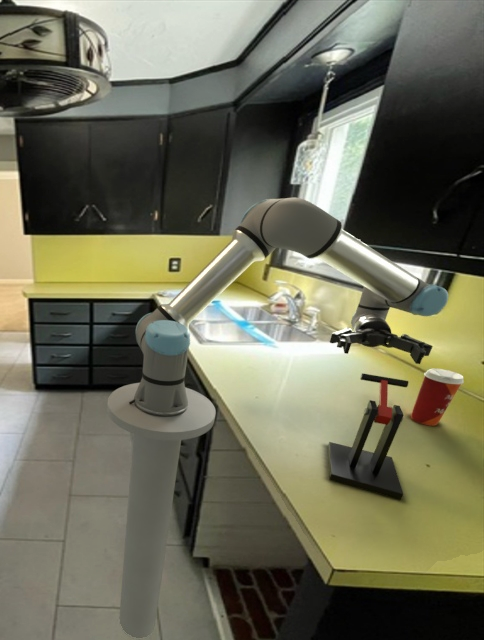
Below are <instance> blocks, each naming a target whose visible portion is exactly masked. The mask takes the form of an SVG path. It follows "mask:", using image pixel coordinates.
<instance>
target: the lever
mask: <svg viewBox="0 0 484 640" xmlns="http://www.w3.org/2000/svg"><path fill="white" fill-rule="evenodd" d="M360 380H361V381H366V382H370V383H377V384H379V394H378V395H379V396H378V397H379V400H378V405H377V408H378V412H377V414H376V417H375V419H374V422H373V423H375V424H381V425H384V426H385V425H388V423H389V422H390V420H391V419H392V408H393V406H392V407H391V406H388V395H389V394H388V393H389V392H388V390H389V389H388V386H396V387H401V388H408V386H409V382H410V381H409V380H405V379H399V378H394V377H393V378H392V377H387V376H381V375H375V374H368V373H361V374H360Z"/></svg>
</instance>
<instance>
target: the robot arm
mask: <svg viewBox="0 0 484 640" xmlns="http://www.w3.org/2000/svg"><path fill="white" fill-rule="evenodd" d="M231 238H232V239H231V241H229V243H227V245H226V246H224V248H223V249H222V250H221V251H220V252H218V253H217V255H216V256H214V258H212V259H211V261H210V262H208V263H207V265H205V267H204V268H203V269H202V270H201V271H200V272H198V274H197V275H195V277H194V278H192V280H191V281H190V282H189V283H187V284H186V286H185V287H184V288H183V289H181V291H180V292H178V293H177V294H176V296H175V297H173V299H172V300H171V301H170V302H169V303H161V304H159V306H158V307H157V308H156V309H154V311H152V312H149V313H146V314H145V315H143V316H142V317H140V319H139V320H138V322H137V324H136V326H135V340H136V343H137V345H138V347H139V348H140V350H141V352H142V354H143V363H142V374H141V379H140V382H139V383H140V384H139V386H138V389H137V391H136V393H135V396H134V400H132V401H130V402H129V404H132V403H134V405H135V406H136V407H137V408H138V409H139V410H140V411H142V412H144V413H147V414H150V415H154V416H160V417H172V416H177V415H180V414H182V413H184V412H185V411H186V410H187V406H188V398H187V394H186V389H185V387H186V385H185V379H186V370H187V364H188V357H189V350H190V349H189V348H190V345H191V332H190V324H191V323H192V322H193V321H194V320H195V319H196V318H197V317H198V316H199V315H200V314H201V313H202V312H203V311H204V310H205V309H206V308H207V307H208V306H210V305H211V303H213V302H214V301H215V300H216V299H217V298H218V297H219V296H220V295H221V294H222V293H223V292H224V291H225V290H226V289H227V288H228V287H229V286H231V284H233V283H234V282H235V280H237V279H238V277H240V276H241V275H242V274H243V273H244V272H245V271H246V270H247V269H248V268H249V267H250V266H251V265H252V264H253V263H254V262H262V261H264V260H265V259H266V258H267V257H269V256H270V255H271V254H272V253H273V252H274V251H275V250H276V249H282V250H287V251H290V252H294V253H298V254H300V255H302V256H304V257H306V258H307V259H311V260H312V259H313V260H314V259H318V260H319V261H322V262H323V263H325V264H326V265H328V266H330V267H331V268H333V269H334V270H336V271H337V272H339V273H341V274H344V276H346V277H348V278H349V279H351V280H353V281H354V282H357V283H358V284H359V285H361V286H363V288H362V292H361V295H360V299H359V302H358V305H357V307H356V310H355V313H354V314H353V315H352V317H351V321H350V324H351V328H350V327H349V326H347V327H344V329H341V330H338V331H334V332H332V333H331V335H330V338H329V343H330V344H336V343H337V345H336V347H337V348H340V349H343V353H344V354H347V355H348V354H349V353H350V350H351V346H352V344H359V345H361V346H363V347H366V348H377V347H380V346H382V347H384V348H388V349H389V348H391V349H392V348H394V349H396V350H399V351H402V352H405V353H408V354H409V356H410V357H411V359H412V360H413V362H414V363H415V364H416V365H421V363H422V361H423V358H425V357H430V354H431V351H432V349H433V347H434V346H433V345H431V344H429V343H427V342H425V341H422V340H419V339H416V338H414V337H411V336H410V335H409V334H406V333H403V334H402V335H400V336H399V335H397V334H395V333H393V332H392V329H391V326H390V325H389V324H388V322H387V321H386V320H387V316H388V314H389V312H390V311H389V310H390V308H391V309H395V310H400V311H403V312H406V313H409V314H412V315H413V316H419V317H420V316H421V317H431V316H434V315H436V314H438V313H439V312H441V311H442V309H444V307H445V306H446V305H447V303H448V301H449V293H448V291H447V290H446V289H445V288H444V287H442V286H438V285H437V284H429V283H427V282H425V281H424V280H422V279H421V278H419V277H417V276H415V275H414V274H412V273H411V272H410V271H409V270H406V269H405V268H403V267H402V266H400V265H398V264H397V263H395V262H394V261H393V260H391V259H389V258H388V257H386V256H384V255H383V254H381V253H380V252H378V251H377V250H375V249H373V248H372V247H371V246H369V245H368V244H366V243H364V242H363V241H361V239H358V238H356V237H355V236H354V235H352V234H351V233H349V232H347V231H346V230H344V229H343V223H342V221H341V220H339V219H337V218H336V217H335V216H333V215H332V214H330V213H328V212H327V211H326V210H324V209H322V208H321V207H319V206H317V205H315V204H314V203H312V202H310V201H308V200H306V199H304V198H300V197H287V198H267V199H264V200H261V201H259V202H255V204H253V205H251V206H250V207H249V208H248V209H246V211H245V213H244V214H243V216H242V218H241V219H240V224H239V225H238V226H237V227H236V228H235V229H234V230H233V231H232V237H231Z"/></svg>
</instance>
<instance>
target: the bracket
mask: <svg viewBox="0 0 484 640" xmlns="http://www.w3.org/2000/svg"><path fill="white" fill-rule="evenodd" d="M377 407H378V405H377V401H376V400H371V399H370V400H369V401H368V404H367V405H366V408H364V411H363V416H362V419H361V422H360V424H359V427H358V430H357V433H356V435H355V436H354V437H355V438H354V440H353V443H352V445H351V446H348V445H345V444H340V443H336V442H332V441H328V444H327V463H328V464H327V465H328V478H329V480H330V481H334V482H336V483H340V484H344V485H348V486H351V487H354V488H356V489H357V488H358V489H362V490H364V491H368V492H372V493H375V494H379V495H382V496H385V497H389V498H391V499H396V500H400V501H402V499H403V496H404V495H405V494H404V491H403V488H402V485H401V482H400V479H399V475H398V472H397V469H396V466H395V462H394V460H393V457H392V456H389V455H388V453H389V451H390V448H391V446H392V443H393V441H394V439H395V437H396V435H397V432H398V429H399V428H400V425H401V423H402V422H403V420H404V416H405V414H404V412H403V410H402V407H401V406H400V405H397V404H393V405H392V419H391V420H390V422H389V423H388V425H385V424H384V427H383V429H382V432H381V435H380V438H379V439H378V442H377V444H376V447H375V449H374V451H373V452H372V451H368V450H365V449H364V447H365V444H366V442H367V441H368V440H367V439H368V437H369V434H370V432H371V429H372V427H373V425H374V423H375V422H374V419H375V417H376V414H377V412H378V408H377Z"/></svg>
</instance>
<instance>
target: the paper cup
mask: <svg viewBox="0 0 484 640" xmlns="http://www.w3.org/2000/svg"><path fill="white" fill-rule="evenodd" d="M423 376H424V377H423V380H422V383H421V385H420V388H419V391H418V394H417V397H416V399H415V403H414V405H413V407H412V408H413V409H412V412H411V415H410V419H412V421H414V422H415V423H419V424H421V425H426V426H431V427H432V426H437V425H438V424H439V422H440V421H441V419H442V417H443V416H444V414H445V413H446V411H447V409H448V407H449V406H450V404H451V402H452V401H453V399H454V397H455V396H456V394H457V393H458V390H459V388H461V385H463V384H464V383H465V381H464V376H463V374H461V373H458V372H455V371H452V370H448V369H443V368H430V369H428V370H427V371H425V372H424V373H423Z"/></svg>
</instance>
